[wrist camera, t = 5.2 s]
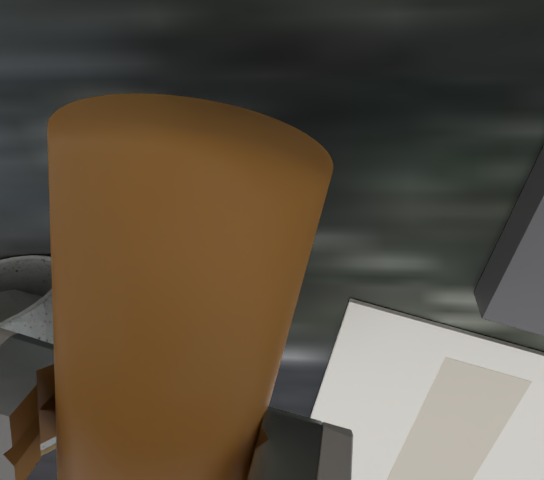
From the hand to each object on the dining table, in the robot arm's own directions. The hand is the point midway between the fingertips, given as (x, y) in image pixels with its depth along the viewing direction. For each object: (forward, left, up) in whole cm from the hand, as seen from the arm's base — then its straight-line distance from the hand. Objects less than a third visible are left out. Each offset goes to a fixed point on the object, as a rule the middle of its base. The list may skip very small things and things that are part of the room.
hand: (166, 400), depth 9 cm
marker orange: (+1, 0, -2) cm, 2 cm away
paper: (+14, +11, -14) cm, 22 cm away
